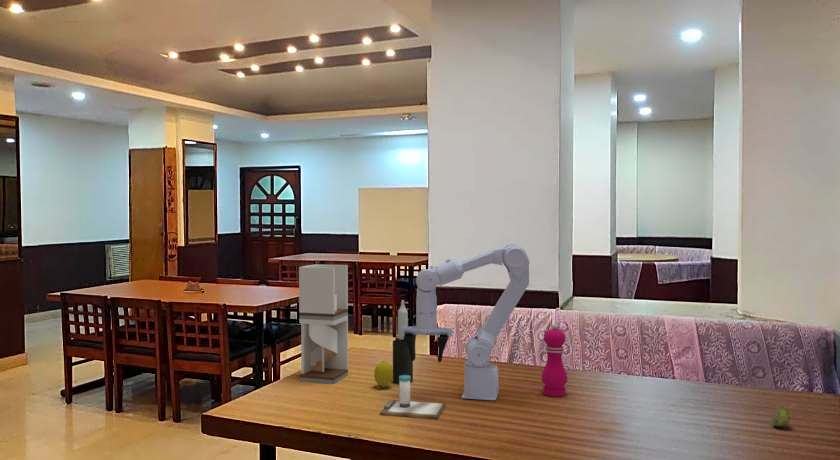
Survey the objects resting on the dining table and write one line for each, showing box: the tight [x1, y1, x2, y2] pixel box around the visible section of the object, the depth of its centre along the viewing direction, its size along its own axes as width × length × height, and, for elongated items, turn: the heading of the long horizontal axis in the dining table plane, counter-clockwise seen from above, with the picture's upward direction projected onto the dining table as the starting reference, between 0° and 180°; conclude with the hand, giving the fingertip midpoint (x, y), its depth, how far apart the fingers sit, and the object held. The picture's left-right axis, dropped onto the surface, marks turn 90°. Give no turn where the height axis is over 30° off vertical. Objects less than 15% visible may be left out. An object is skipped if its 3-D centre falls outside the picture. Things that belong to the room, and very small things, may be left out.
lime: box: [770, 405, 790, 428], centre depth 148 cm, size 4×5×5 cm
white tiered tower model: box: [298, 264, 349, 385], centre depth 192 cm, size 11×11×35 cm
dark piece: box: [392, 299, 414, 385], centre depth 188 cm, size 5×5×25 cm
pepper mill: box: [541, 323, 568, 398], centre depth 176 cm, size 7×7×20 cm
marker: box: [398, 375, 411, 408], centre depth 162 cm, size 3×3×8 cm
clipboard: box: [379, 399, 447, 420], centre depth 161 cm, size 15×11×1 cm
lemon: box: [373, 360, 393, 389], centre depth 182 cm, size 6×6×8 cm
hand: (426, 360), depth 174 cm, fingers open, 7 cm apart
